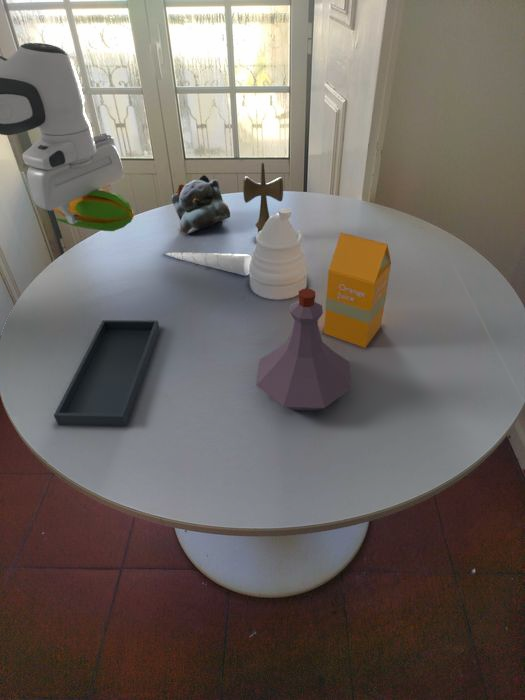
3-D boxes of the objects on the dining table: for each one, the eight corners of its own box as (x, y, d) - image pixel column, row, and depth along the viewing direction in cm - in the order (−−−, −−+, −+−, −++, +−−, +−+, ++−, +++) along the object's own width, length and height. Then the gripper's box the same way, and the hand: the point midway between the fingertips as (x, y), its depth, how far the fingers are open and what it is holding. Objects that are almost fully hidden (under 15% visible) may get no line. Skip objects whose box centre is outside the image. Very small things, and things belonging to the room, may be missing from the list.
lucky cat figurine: (175, 238, 125) (158, 185, 121) (188, 235, 136) (172, 187, 133) (228, 221, 122) (211, 167, 118) (237, 220, 133) (222, 170, 129)
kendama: (247, 235, 125) (243, 158, 112) (283, 235, 124) (283, 158, 112) (245, 246, 120) (241, 167, 107) (283, 246, 120) (283, 167, 107)
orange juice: (365, 349, 88) (379, 254, 75) (323, 334, 92) (329, 241, 79) (381, 327, 93) (396, 234, 80) (340, 314, 97) (349, 223, 84)
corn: (117, 201, 89) (30, 190, 94) (124, 238, 93) (41, 226, 99) (137, 189, 95) (54, 179, 100) (143, 225, 99) (63, 214, 104)
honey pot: (318, 282, 106) (322, 205, 95) (281, 307, 99) (281, 228, 88) (275, 264, 113) (274, 190, 102) (238, 286, 106) (232, 210, 94)
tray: (58, 426, 76) (53, 415, 74) (105, 330, 95) (102, 320, 93) (126, 427, 75) (122, 416, 73) (160, 330, 94) (158, 320, 93)
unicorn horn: (174, 249, 120) (171, 231, 117) (255, 270, 111) (254, 252, 108) (163, 257, 117) (159, 239, 114) (244, 280, 108) (243, 261, 105)
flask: (326, 351, 88) (334, 256, 75) (369, 413, 76) (387, 312, 63) (243, 372, 84) (235, 276, 71) (274, 440, 72) (272, 339, 59)
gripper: (100, 128, 96) (116, 194, 105) (13, 158, 83) (39, 230, 92) (122, 132, 94) (136, 200, 103) (36, 163, 81) (60, 237, 90)
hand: (89, 214), depth 97 cm, fingers closed on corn, 7 cm apart
